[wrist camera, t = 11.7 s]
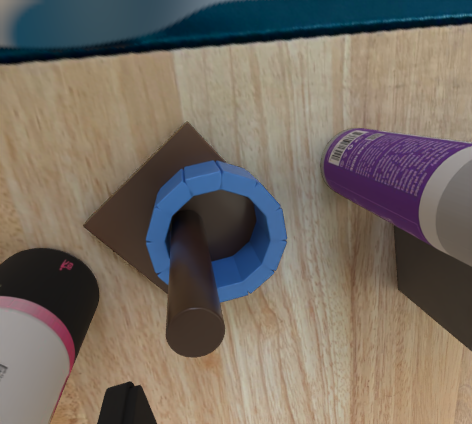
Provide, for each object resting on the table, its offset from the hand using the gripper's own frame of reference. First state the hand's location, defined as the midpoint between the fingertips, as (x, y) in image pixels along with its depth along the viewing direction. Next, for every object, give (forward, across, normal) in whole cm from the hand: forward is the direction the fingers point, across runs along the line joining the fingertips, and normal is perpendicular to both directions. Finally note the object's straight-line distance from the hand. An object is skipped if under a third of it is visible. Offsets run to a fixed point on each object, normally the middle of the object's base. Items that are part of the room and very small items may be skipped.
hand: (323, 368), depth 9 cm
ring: (+14, +2, 0) cm, 14 cm away
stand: (+15, +3, 0) cm, 15 cm away
